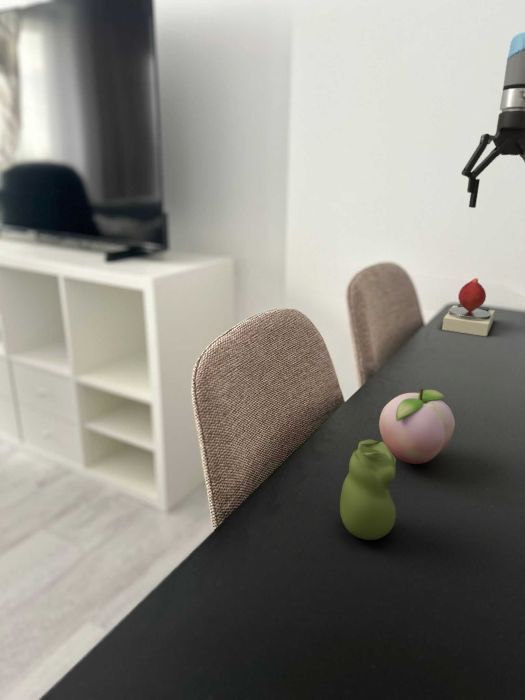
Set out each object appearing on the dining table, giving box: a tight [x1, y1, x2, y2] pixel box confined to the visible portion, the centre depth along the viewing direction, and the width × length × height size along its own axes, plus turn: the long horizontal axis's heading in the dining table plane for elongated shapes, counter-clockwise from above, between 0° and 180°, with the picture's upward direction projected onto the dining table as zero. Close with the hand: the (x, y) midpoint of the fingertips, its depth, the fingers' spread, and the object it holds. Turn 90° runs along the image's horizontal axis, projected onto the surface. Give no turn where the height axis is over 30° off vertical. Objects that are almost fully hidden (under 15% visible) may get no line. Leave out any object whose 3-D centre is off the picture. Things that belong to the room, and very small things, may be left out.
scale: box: [441, 303, 496, 337], centre depth 122 cm, size 14×10×4 cm
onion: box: [458, 277, 487, 312], centre depth 119 cm, size 6×6×8 cm
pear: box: [339, 438, 397, 541], centre depth 49 cm, size 6×5×10 cm
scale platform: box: [448, 307, 491, 320], centre depth 120 cm, size 9×9×1 cm
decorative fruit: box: [378, 388, 456, 465], centre depth 62 cm, size 9×8×10 cm
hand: (500, 208), depth 123 cm, fingers open, 13 cm apart
